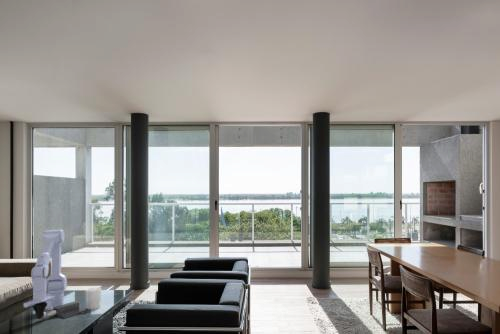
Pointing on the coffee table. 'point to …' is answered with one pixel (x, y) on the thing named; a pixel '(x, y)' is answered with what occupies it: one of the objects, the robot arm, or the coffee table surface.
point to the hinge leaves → (68, 310)
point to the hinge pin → (49, 314)
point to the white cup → (93, 298)
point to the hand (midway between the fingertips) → (39, 318)
